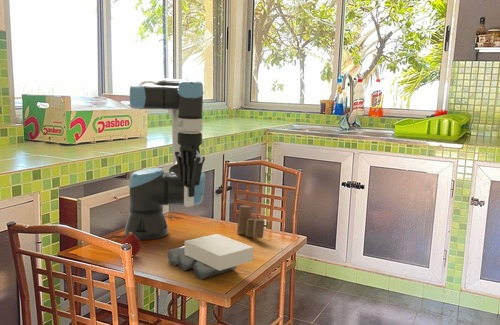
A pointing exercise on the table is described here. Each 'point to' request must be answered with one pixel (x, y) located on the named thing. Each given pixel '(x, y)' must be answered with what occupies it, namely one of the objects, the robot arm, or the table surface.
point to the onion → (133, 243)
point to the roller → (207, 270)
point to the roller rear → (174, 255)
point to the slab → (218, 251)
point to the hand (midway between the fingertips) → (188, 205)
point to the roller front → (185, 262)
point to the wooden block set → (249, 223)
